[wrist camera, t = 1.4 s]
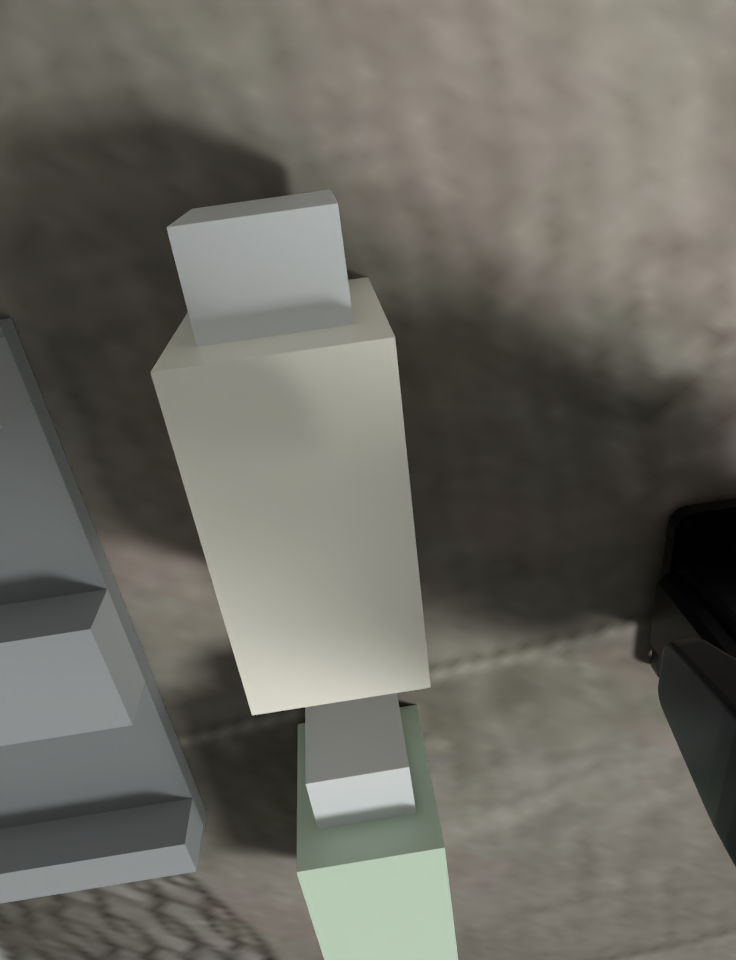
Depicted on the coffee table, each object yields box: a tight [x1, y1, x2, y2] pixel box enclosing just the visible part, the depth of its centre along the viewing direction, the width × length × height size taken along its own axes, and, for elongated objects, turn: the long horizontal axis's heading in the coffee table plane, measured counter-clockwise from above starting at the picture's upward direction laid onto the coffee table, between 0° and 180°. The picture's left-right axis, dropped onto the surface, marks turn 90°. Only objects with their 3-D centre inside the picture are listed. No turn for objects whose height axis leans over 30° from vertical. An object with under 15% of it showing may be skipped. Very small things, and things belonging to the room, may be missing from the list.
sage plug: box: [297, 693, 458, 960], centre depth 21 cm, size 10×4×5 cm, turn 8°
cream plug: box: [150, 189, 431, 715], centre depth 14 cm, size 10×4×5 cm, turn 7°
